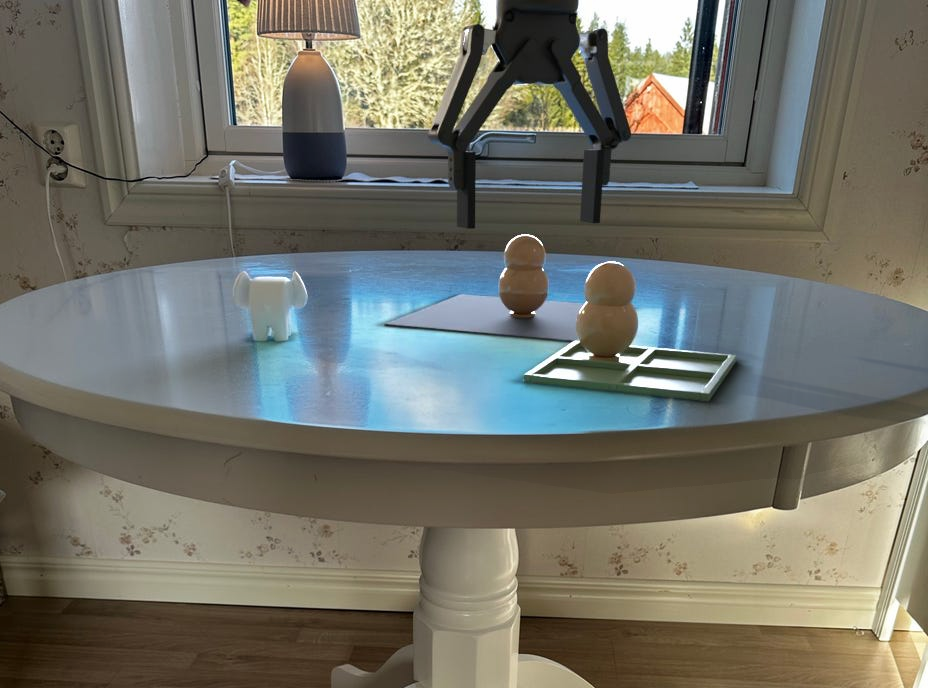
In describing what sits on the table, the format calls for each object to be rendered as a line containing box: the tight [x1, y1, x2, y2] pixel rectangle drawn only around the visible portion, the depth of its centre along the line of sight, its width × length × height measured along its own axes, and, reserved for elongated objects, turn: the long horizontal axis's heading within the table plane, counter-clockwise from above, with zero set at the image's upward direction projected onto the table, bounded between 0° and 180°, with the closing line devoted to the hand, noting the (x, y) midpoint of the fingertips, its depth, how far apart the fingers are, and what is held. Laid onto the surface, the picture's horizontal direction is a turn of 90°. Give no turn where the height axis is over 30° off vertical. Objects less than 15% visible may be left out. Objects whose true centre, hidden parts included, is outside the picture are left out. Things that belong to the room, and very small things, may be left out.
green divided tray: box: [522, 341, 738, 402], centre depth 77 cm, size 14×14×1 cm
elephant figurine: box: [232, 270, 308, 342], centre depth 88 cm, size 7×8×6 cm
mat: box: [383, 293, 585, 343], centre depth 99 cm, size 20×20×1 cm
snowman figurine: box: [576, 261, 639, 361], centre depth 79 cm, size 5×5×8 cm
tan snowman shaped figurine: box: [497, 234, 550, 318], centre depth 96 cm, size 5×5×8 cm
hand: (529, 225), depth 94 cm, fingers open, 13 cm apart
